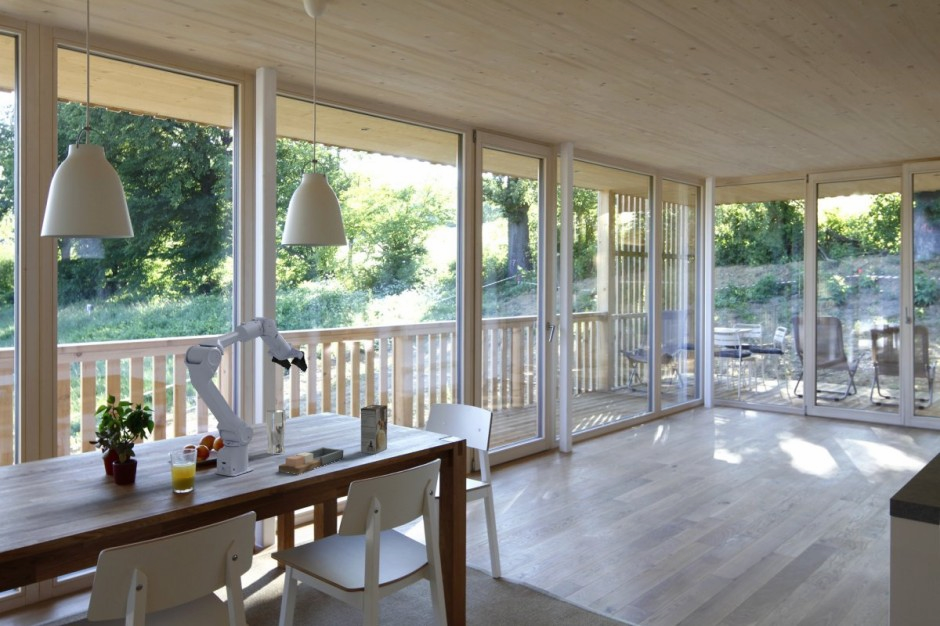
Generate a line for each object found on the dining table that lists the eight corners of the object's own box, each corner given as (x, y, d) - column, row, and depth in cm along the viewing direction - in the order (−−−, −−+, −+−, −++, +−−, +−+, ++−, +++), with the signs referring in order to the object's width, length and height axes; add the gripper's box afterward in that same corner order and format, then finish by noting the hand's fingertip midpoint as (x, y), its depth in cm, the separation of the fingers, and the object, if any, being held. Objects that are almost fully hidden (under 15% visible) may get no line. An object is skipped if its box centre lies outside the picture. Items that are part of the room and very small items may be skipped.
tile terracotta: (295, 467, 234) (295, 459, 234) (285, 465, 236) (285, 458, 236) (303, 464, 238) (303, 456, 238) (293, 462, 240) (293, 455, 240)
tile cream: (305, 463, 239) (305, 456, 239) (295, 462, 241) (295, 454, 240) (313, 461, 242) (313, 453, 242) (303, 459, 244) (303, 452, 244)
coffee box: (371, 447, 272) (372, 404, 271) (387, 448, 270) (387, 405, 269) (360, 452, 263) (360, 408, 263) (376, 454, 261) (376, 409, 260)
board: (298, 474, 233) (298, 468, 233) (278, 471, 236) (278, 465, 236) (321, 466, 243) (321, 460, 243) (302, 463, 247) (302, 457, 247)
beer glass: (280, 455, 258) (280, 413, 257) (262, 454, 259) (262, 412, 258) (289, 451, 265) (289, 409, 264) (271, 450, 266) (271, 408, 265)
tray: (322, 466, 243) (322, 457, 243) (300, 463, 247) (300, 454, 247) (343, 458, 254) (343, 450, 254) (322, 455, 258) (322, 447, 258)
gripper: (298, 335, 248) (318, 361, 257) (267, 333, 255) (288, 358, 264) (288, 352, 244) (308, 377, 253) (257, 349, 251) (278, 373, 260)
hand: (297, 368), depth 258 cm, fingers open, 7 cm apart
